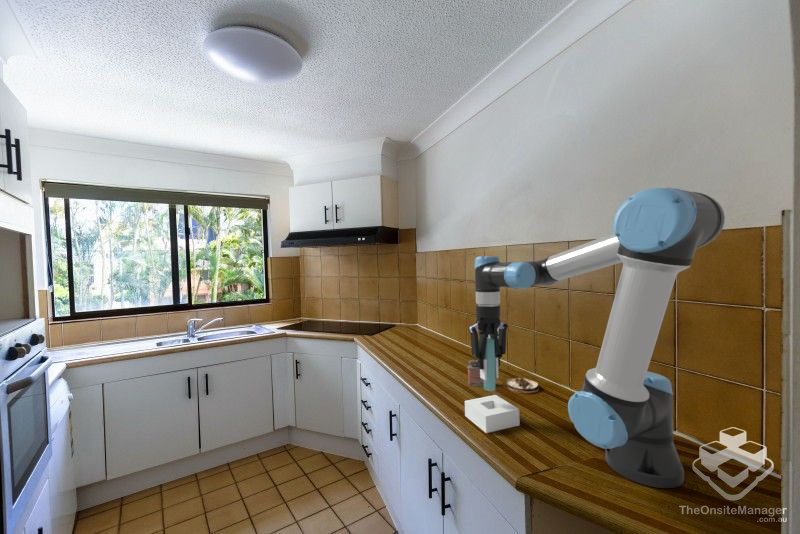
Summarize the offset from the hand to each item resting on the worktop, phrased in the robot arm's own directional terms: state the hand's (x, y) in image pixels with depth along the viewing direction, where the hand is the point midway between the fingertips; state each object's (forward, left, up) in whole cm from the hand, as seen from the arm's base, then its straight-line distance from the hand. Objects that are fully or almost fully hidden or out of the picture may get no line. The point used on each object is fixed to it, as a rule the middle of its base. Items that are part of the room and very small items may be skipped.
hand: (489, 377), depth 105 cm
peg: (0, 0, -4) cm, 4 cm away
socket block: (0, 0, -14) cm, 14 cm away
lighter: (+28, -13, -14) cm, 34 cm away
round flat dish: (+18, -27, -14) cm, 35 cm away
